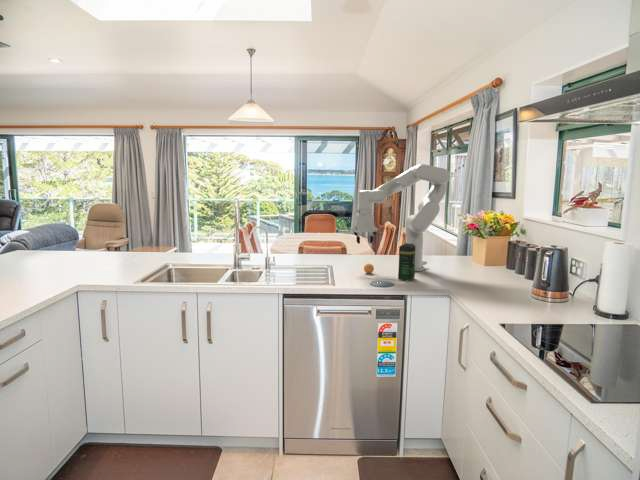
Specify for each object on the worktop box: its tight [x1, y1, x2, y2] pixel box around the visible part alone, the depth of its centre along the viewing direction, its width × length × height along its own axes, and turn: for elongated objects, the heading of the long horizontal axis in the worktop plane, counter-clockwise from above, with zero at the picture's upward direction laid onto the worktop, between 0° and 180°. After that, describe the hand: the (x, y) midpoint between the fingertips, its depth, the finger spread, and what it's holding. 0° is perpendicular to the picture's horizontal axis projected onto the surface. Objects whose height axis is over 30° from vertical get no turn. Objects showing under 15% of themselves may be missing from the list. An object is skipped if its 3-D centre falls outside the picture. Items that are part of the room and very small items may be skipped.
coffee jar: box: [397, 242, 416, 281], centre depth 211 cm, size 10×8×19 cm
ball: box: [363, 263, 375, 274], centre depth 226 cm, size 6×6×6 cm
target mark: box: [369, 280, 395, 288], centre depth 201 cm, size 12×12×1 cm
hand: (364, 242), depth 233 cm, fingers open, 6 cm apart
